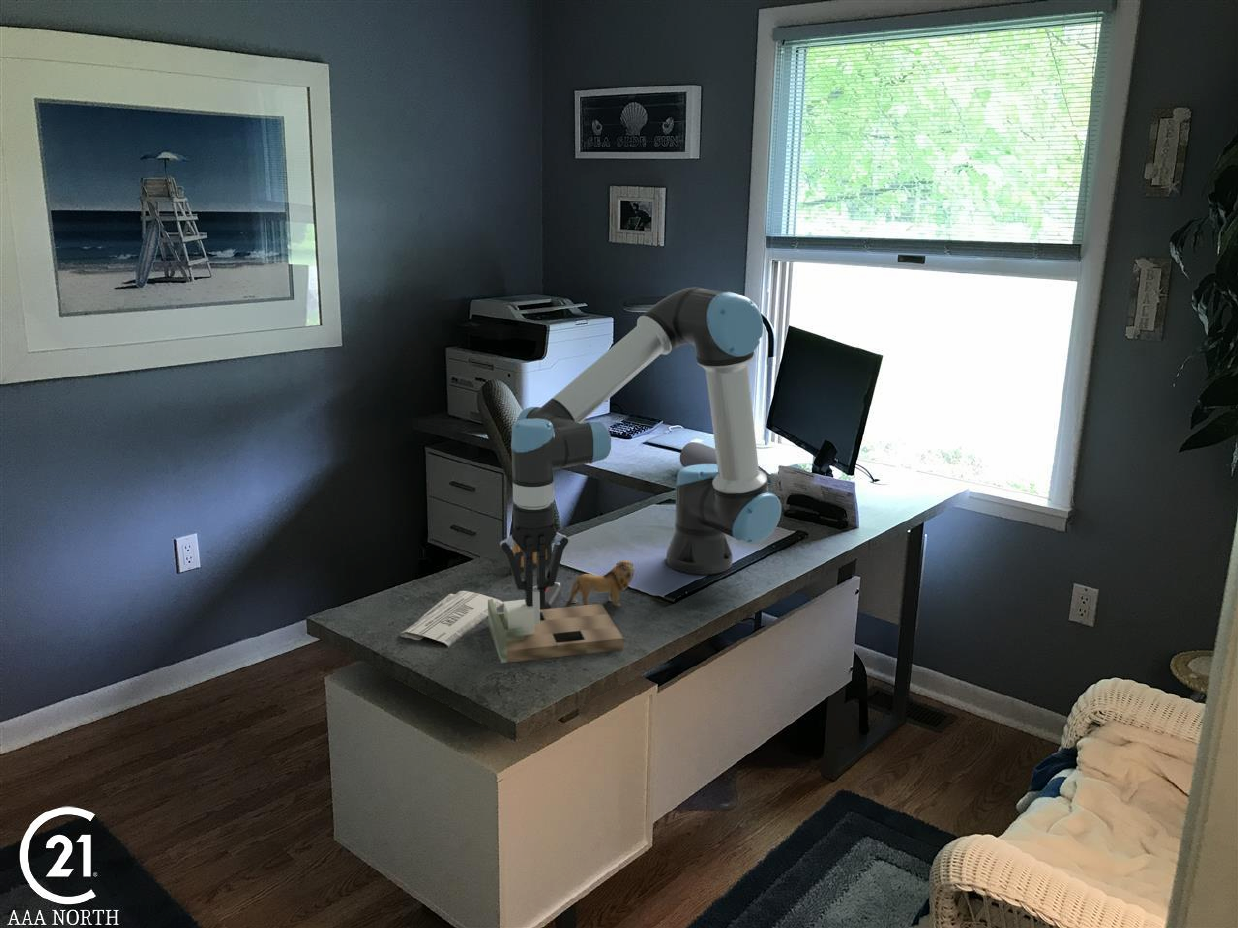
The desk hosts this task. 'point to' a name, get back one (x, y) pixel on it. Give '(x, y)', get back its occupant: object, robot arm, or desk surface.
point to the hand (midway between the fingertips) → (535, 620)
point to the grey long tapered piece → (697, 454)
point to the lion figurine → (604, 583)
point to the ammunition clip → (520, 561)
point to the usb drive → (551, 596)
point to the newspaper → (451, 617)
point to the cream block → (519, 616)
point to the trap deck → (556, 634)
